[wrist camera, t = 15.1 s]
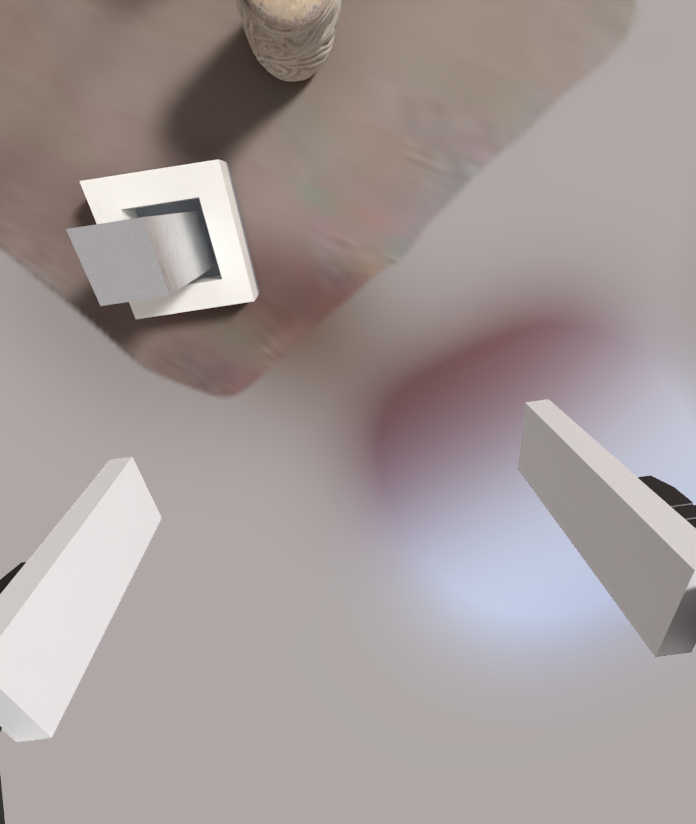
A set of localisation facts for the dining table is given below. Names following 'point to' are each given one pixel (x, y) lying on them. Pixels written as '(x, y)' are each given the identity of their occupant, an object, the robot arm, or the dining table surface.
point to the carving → (290, 34)
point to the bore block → (177, 194)
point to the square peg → (143, 255)
